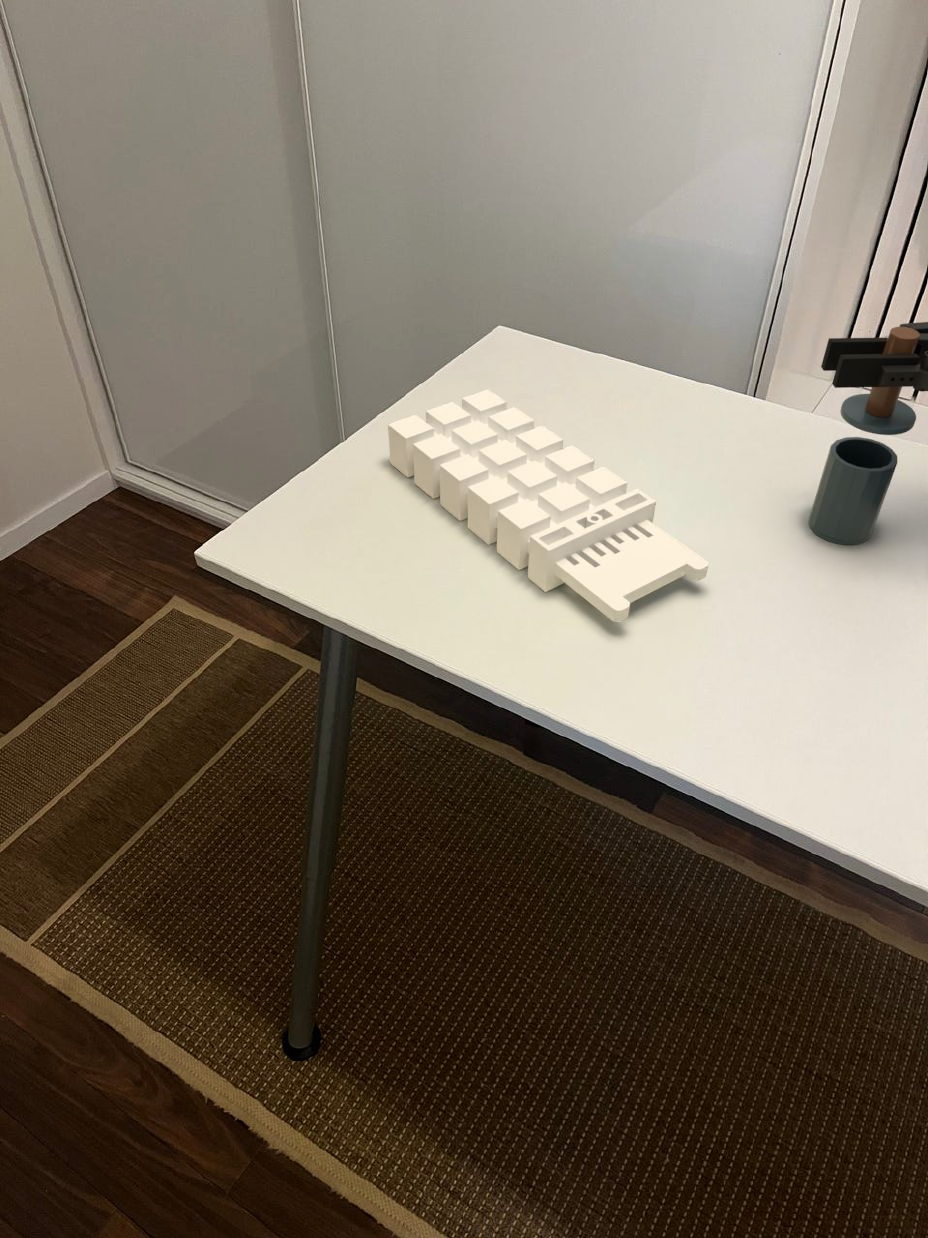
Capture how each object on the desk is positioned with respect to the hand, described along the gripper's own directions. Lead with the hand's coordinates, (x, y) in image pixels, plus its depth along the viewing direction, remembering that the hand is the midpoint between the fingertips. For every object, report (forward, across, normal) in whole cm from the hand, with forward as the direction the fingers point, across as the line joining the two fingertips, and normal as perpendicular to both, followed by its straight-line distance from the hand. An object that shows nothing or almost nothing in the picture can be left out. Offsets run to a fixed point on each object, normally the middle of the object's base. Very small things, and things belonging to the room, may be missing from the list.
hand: (832, 362), depth 82 cm
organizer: (+25, +2, -18) cm, 31 cm away
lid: (-5, 0, -5) cm, 8 cm away
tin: (-6, 0, -18) cm, 19 cm away
